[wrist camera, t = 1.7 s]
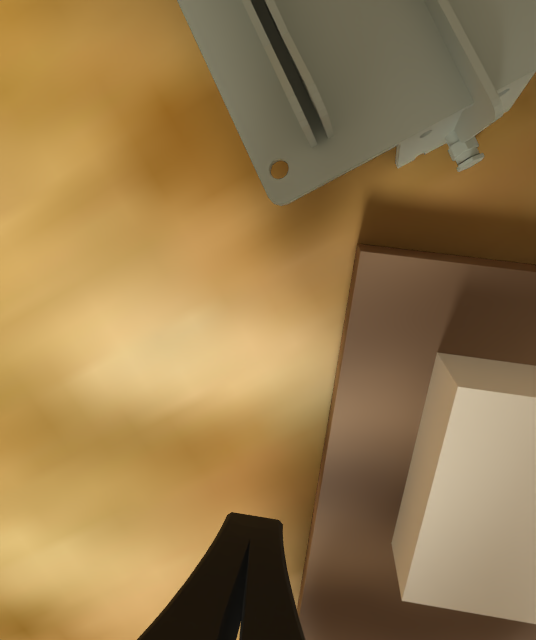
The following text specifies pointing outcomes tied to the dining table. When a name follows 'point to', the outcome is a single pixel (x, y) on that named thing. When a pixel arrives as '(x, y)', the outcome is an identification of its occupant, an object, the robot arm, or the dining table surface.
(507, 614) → the cream rectangular block
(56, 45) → the dining table surface
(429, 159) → the dining table surface
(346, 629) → the bench board
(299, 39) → the metal bracket
